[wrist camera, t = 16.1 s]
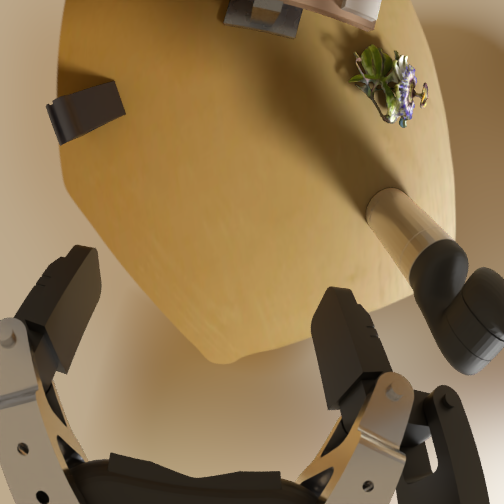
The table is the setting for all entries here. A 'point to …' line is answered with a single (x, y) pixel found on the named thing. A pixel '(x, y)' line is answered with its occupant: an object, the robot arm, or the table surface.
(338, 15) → the beam
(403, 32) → the table surface
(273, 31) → the pivot stand
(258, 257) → the table surface
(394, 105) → the passion flower
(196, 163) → the table surface
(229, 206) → the table surface
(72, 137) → the phone stand
